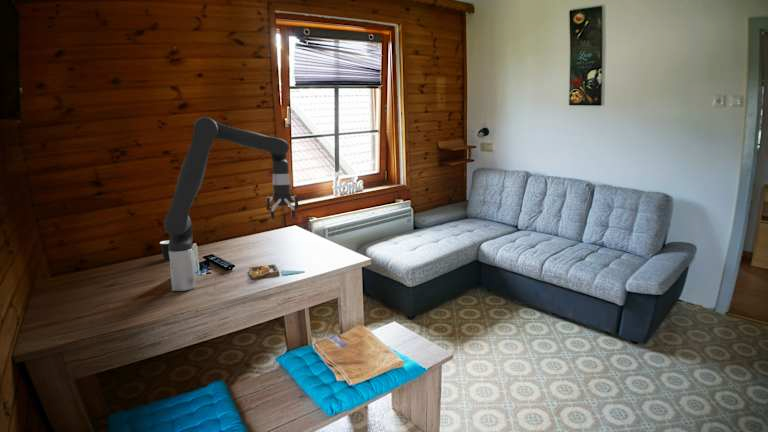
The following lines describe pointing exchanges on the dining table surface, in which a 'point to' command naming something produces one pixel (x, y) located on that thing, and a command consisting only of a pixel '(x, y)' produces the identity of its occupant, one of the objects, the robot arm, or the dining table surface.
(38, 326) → the dining table surface
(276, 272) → the brown wooden frame
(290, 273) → the teal pad
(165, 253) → the dixie cup
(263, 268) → the figurine
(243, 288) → the dining table surface
